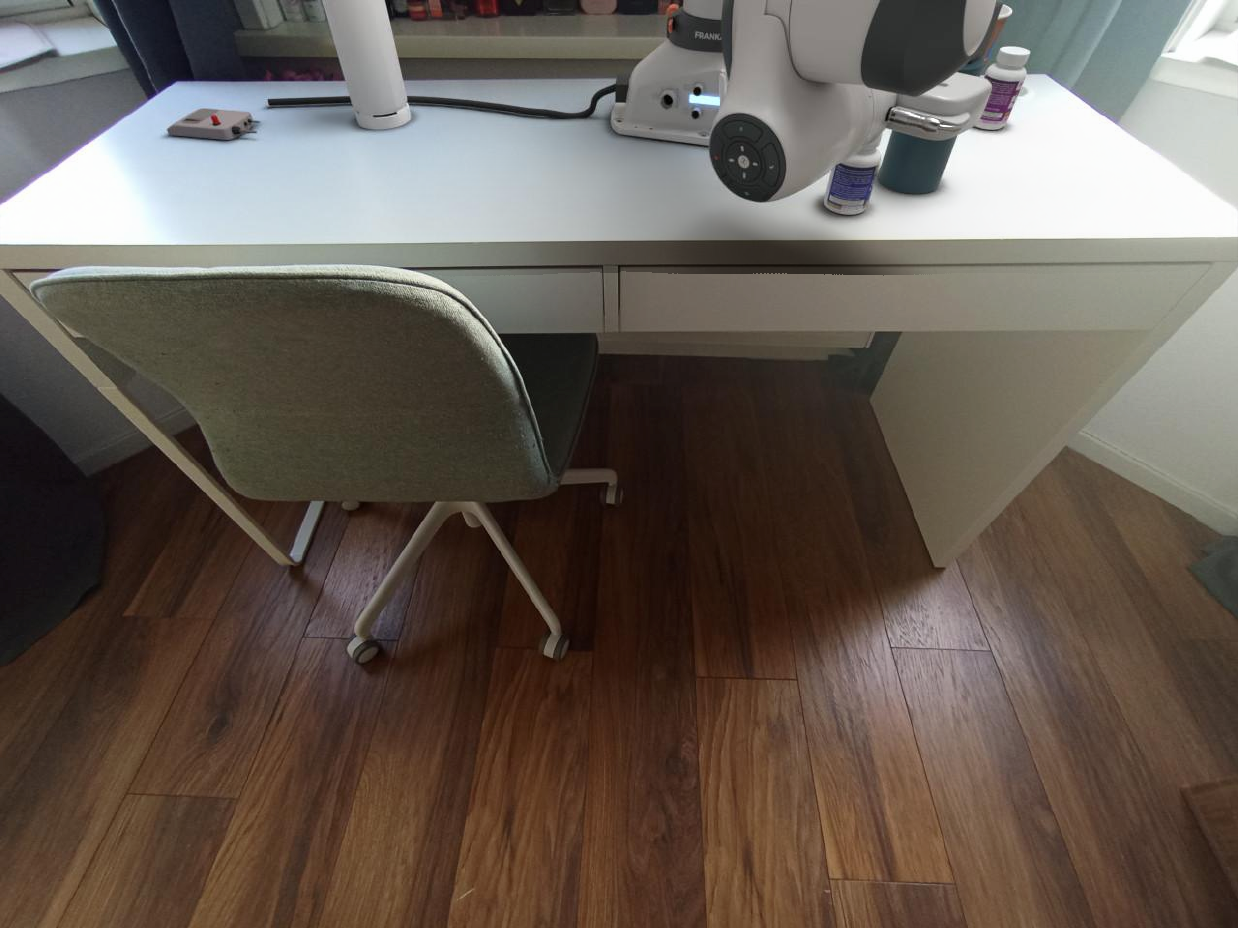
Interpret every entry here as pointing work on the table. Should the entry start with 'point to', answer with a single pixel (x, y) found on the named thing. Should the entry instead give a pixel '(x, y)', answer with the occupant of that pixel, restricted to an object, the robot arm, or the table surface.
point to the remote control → (213, 124)
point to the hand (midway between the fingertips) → (905, 64)
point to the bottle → (369, 61)
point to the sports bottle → (925, 144)
